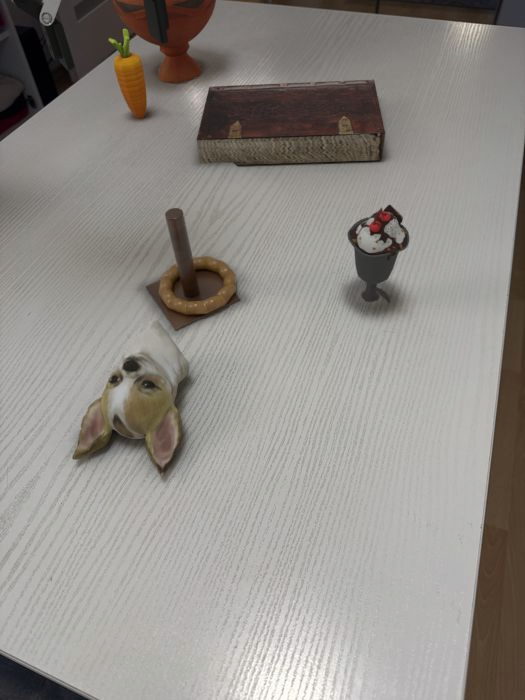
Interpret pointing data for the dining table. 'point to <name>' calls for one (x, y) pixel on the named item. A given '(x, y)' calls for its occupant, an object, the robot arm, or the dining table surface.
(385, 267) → the sundae
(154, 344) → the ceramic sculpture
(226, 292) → the ring
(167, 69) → the goblet
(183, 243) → the peg
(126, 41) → the carrot
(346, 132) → the hardback book
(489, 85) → the dining table surface
